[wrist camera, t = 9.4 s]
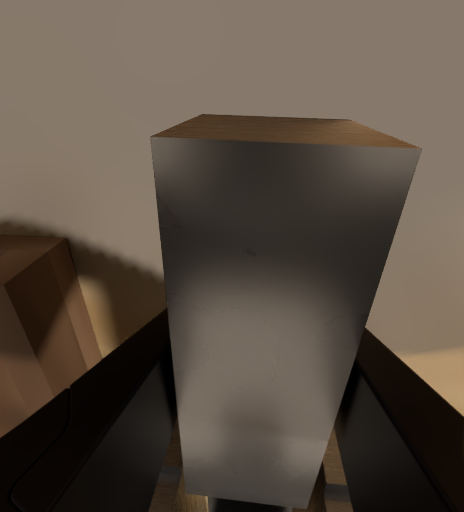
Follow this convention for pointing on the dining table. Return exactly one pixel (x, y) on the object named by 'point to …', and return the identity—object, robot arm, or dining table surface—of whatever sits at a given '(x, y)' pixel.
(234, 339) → the bar
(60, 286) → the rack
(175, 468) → the socket
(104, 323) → the dining table surface
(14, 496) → the robot arm
